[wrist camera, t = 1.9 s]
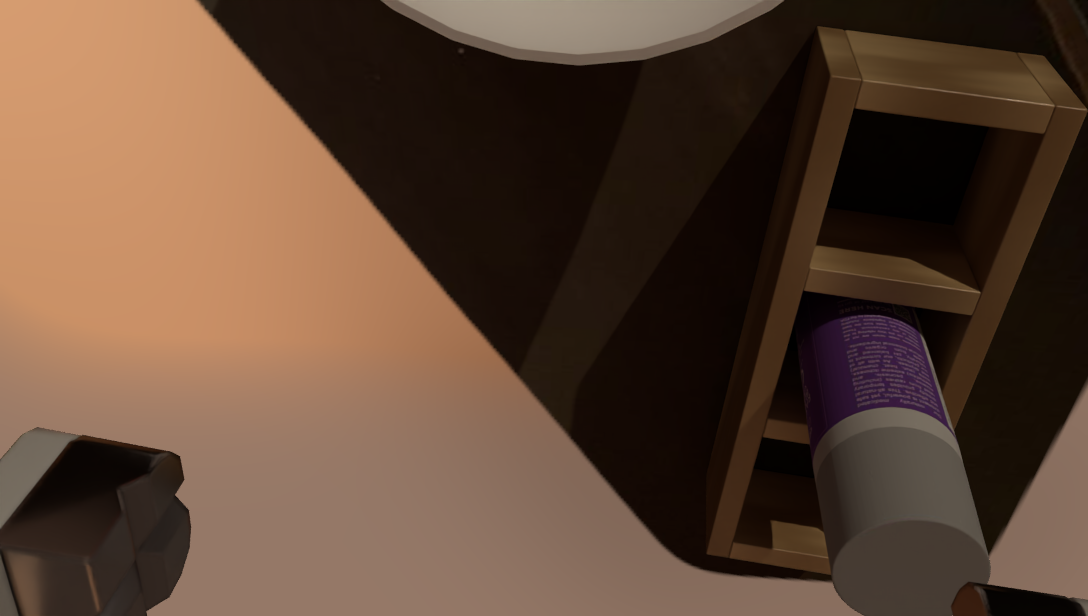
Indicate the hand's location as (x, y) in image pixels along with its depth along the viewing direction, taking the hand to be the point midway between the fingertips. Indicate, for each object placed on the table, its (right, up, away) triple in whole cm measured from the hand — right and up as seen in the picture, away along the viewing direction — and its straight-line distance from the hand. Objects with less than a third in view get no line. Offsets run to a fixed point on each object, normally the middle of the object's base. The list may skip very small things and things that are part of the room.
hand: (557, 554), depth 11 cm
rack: (+13, +3, +31) cm, 34 cm away
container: (+13, +3, +31) cm, 34 cm away
